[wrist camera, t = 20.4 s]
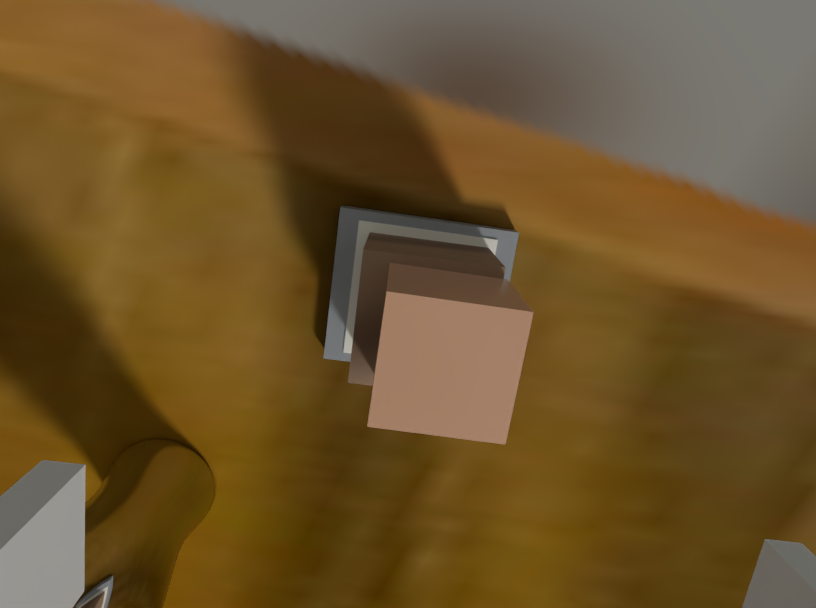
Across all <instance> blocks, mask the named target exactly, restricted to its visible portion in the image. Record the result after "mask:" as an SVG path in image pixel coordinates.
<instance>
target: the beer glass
mask: <svg viewBox="0 0 816 608" xmlns="http://www.w3.org/2000/svg"><path fill="white" fill-rule="evenodd" d="M214 497H215V482H214V478H213V475H212V473H211V470H210V469H209V467H208V465H207V464H206V462H205V461H204V460H203V459H202V458H201V457H200V456H199V455H198V454H197V453H196V452H194V451H193V450H191V449H190V448H188V447H186V446H184V445H182V444H180V443H177V442H174V441H170V440H163V439H152V440H145V441H142V442H139V443H136V444H134V445H132V446H130V447H129V448H127V449H126V450H124V451H123V452H122V453H121V454H120V455H119V456H118V457H117V458H116V460H115V461H114V462H113V464H112V466H111V467H110V469H109V471H108V473H107V475H106V477H105V479H104V480H103V482H102V484H101V486H100V487H99V489H98V490H97V491H96V493H95V494H94V495H93V496H92V497H91V498H90V499H89V500H88V501H87V502H85V583H84V592H83V594H82V595H81V597H80V598H79V599H78V601H77V602H76V604H75V605H74V606H73V608H163V606H164V602H165V599H166V595H167V592H168V589H169V585H170V581H171V578H172V574H173V570H174V567H175V563H176V560H177V557H178V554H179V551H180V549H181V547H182V545H183V543H184V541H185V540H186V539H187V537H188V536H189V535H190V534H191V533H192V531H193V530H194V529H195V528H196V527H197V526H198V525H199V524H200V523H201V522H202V521H203V519H204V518H205V517H206V515H207V514H208V512H209V511H210V509H211V507H212V504H213V501H214Z"/></svg>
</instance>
